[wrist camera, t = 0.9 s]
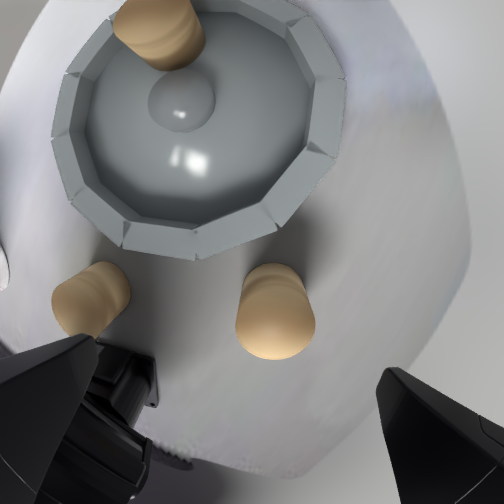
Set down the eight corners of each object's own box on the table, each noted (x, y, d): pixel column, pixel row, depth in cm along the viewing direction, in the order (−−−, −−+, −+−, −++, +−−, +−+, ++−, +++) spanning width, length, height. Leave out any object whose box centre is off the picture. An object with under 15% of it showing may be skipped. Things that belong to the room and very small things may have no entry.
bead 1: (131, 316, 21) (103, 349, 16) (89, 305, 21) (57, 332, 16) (130, 266, 20) (96, 291, 15) (85, 257, 20) (47, 277, 15)
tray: (307, 263, 19) (315, 278, 16) (68, 227, 19) (45, 235, 16) (340, 18, 14) (350, -2, 11) (107, 14, 14) (91, 0, 11)
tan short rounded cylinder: (198, 71, 15) (177, 38, 10) (138, 73, 15) (103, 47, 10) (211, 20, 14) (196, -19, 9) (153, 23, 14) (126, -9, 9)
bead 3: (296, 322, 20) (305, 363, 15) (238, 314, 20) (231, 354, 15) (309, 267, 19) (323, 297, 14) (246, 258, 19) (240, 286, 14)
